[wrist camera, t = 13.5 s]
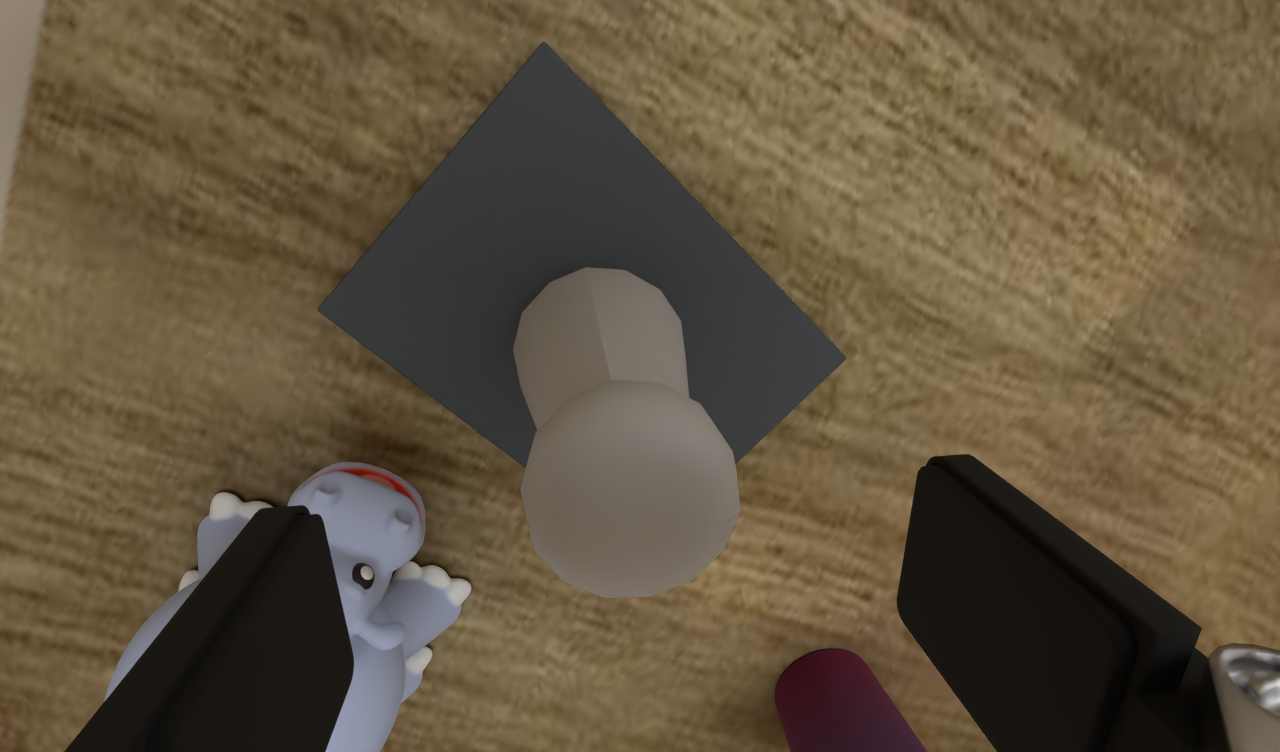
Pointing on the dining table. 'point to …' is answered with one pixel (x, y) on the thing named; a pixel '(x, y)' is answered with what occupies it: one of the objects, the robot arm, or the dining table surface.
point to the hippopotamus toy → (349, 589)
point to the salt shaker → (618, 440)
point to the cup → (839, 707)
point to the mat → (568, 267)
